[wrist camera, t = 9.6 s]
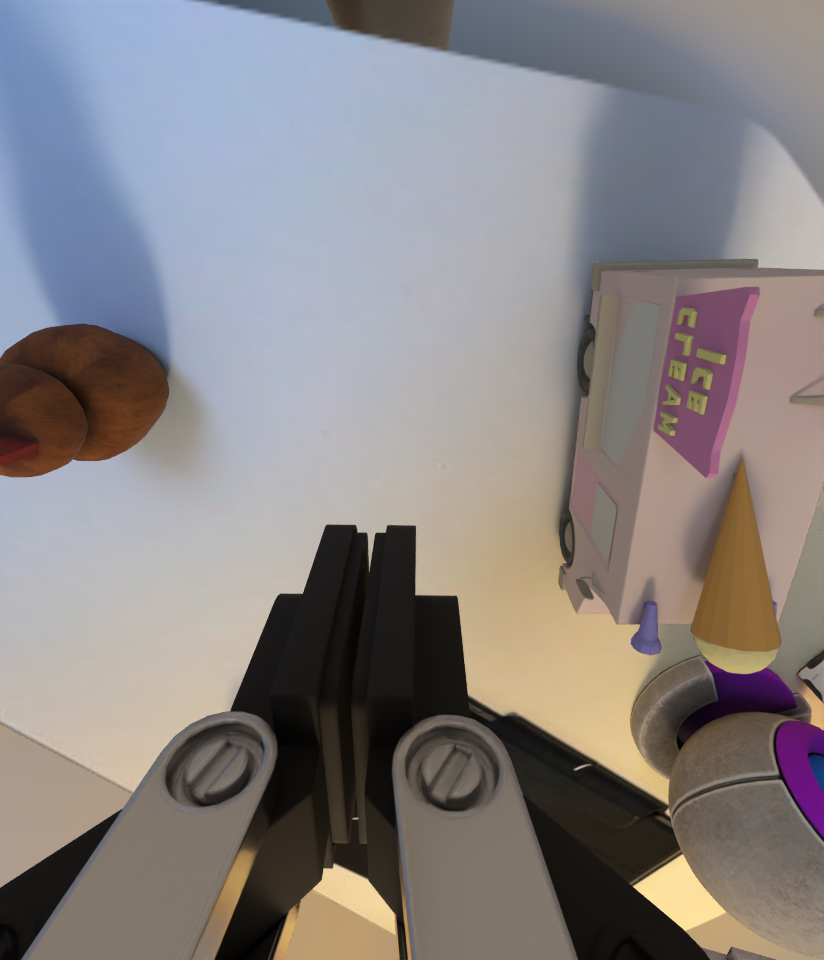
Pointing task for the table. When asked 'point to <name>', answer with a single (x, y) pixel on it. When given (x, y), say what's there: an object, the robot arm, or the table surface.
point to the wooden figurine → (75, 398)
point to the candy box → (815, 676)
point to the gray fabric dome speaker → (743, 793)
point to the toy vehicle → (696, 451)
